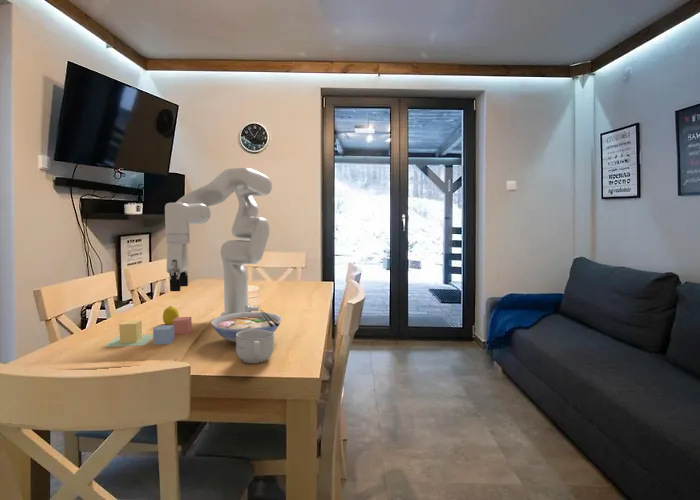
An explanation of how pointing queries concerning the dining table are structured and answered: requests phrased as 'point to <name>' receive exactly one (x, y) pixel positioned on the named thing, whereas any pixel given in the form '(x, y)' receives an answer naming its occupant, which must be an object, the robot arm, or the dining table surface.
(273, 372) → the dining table surface
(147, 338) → the baseplate
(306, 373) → the dining table surface
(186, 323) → the block brick
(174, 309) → the lemon
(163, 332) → the block slate
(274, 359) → the dining table surface
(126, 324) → the block ochre
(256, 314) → the ramen bowl
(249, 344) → the teacup
